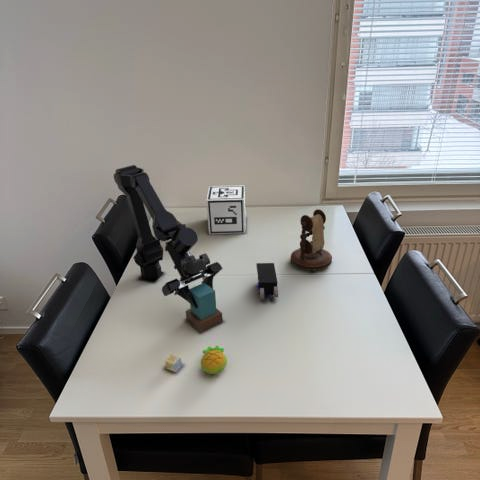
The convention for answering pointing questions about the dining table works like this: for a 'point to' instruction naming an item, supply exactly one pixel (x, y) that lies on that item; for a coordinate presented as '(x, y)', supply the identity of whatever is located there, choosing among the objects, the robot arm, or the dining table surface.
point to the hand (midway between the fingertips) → (205, 304)
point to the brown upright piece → (312, 244)
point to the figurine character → (267, 280)
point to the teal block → (203, 300)
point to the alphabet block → (173, 363)
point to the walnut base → (204, 320)
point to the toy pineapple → (213, 360)
